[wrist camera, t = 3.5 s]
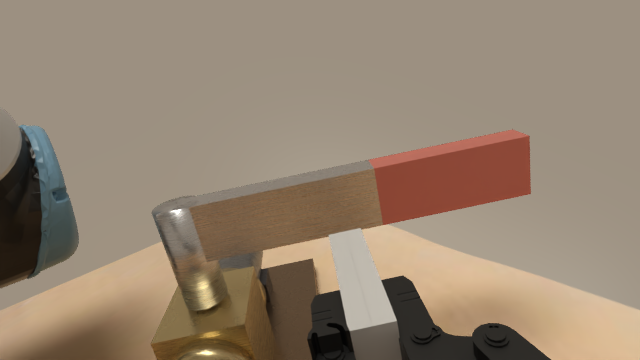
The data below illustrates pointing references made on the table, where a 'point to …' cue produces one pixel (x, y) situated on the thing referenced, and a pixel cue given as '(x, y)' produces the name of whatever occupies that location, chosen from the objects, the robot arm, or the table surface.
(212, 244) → the lever
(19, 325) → the table surface
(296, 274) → the valve stand
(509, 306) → the table surface
